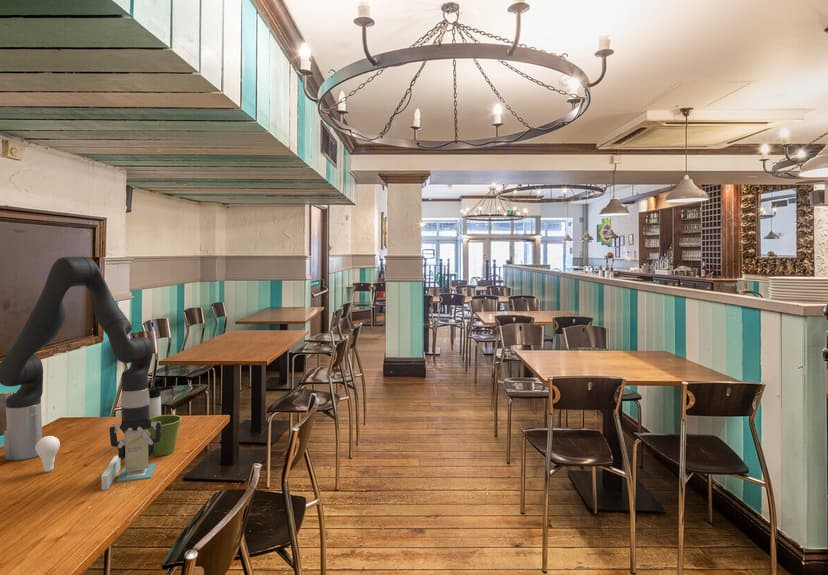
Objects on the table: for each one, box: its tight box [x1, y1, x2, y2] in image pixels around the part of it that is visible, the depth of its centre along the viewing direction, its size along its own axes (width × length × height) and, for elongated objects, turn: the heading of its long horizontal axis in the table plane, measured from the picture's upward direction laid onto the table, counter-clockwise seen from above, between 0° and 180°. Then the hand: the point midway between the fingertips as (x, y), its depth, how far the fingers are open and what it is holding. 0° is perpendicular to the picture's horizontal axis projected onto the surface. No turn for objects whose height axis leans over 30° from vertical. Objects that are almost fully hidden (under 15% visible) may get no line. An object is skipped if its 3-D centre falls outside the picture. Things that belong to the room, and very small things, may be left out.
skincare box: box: [124, 429, 149, 472], centre depth 154 cm, size 6×4×12 cm
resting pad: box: [116, 462, 158, 483], centre depth 155 cm, size 9×11×1 cm
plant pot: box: [148, 414, 183, 457], centre depth 171 cm, size 12×12×11 cm
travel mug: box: [148, 386, 162, 445], centre depth 181 cm, size 6×7×20 cm
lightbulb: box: [35, 435, 61, 473], centre depth 155 cm, size 6×6×11 cm
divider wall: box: [100, 455, 121, 491], centre depth 151 cm, size 2×16×4 cm, turn 19°
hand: (136, 457), depth 154 cm, fingers closed on skincare box, 7 cm apart
